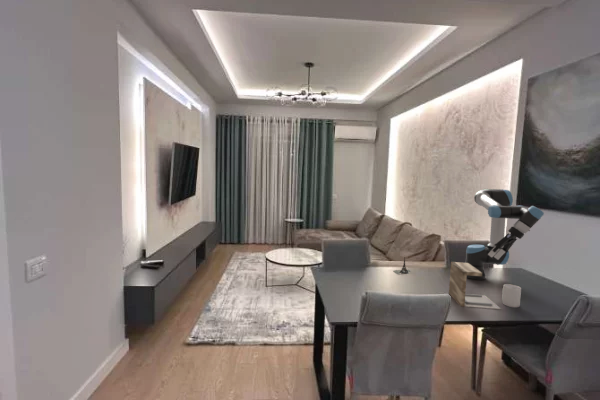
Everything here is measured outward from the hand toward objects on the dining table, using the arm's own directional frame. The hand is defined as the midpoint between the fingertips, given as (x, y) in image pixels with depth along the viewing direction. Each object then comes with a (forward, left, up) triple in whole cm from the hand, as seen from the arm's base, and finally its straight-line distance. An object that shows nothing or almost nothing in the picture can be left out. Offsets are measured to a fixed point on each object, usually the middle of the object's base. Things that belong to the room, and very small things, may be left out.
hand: (492, 257), depth 192 cm
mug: (-7, +7, -25) cm, 27 cm away
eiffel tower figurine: (+42, -43, -26) cm, 66 cm away
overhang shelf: (+18, +7, -25) cm, 31 cm away
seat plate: (+11, +7, -25) cm, 28 cm away
